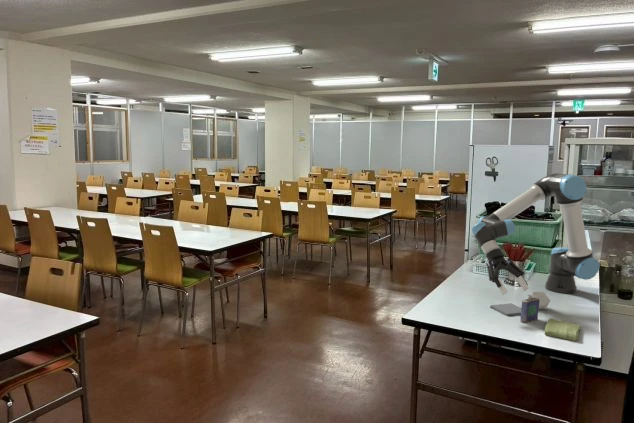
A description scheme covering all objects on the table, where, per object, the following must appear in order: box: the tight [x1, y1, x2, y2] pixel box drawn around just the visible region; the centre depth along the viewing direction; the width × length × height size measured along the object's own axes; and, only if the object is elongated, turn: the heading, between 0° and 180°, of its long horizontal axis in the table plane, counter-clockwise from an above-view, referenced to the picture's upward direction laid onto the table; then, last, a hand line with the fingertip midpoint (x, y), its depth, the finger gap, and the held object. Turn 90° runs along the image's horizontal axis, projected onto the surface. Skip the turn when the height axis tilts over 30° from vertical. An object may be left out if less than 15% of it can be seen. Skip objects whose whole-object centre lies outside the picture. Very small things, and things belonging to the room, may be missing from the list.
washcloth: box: [544, 318, 582, 342], centre depth 194 cm, size 13×18×3 cm
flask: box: [520, 294, 540, 324], centre depth 206 cm, size 10×3×12 cm, turn 117°
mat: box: [489, 302, 522, 317], centre depth 219 cm, size 12×12×1 cm
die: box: [530, 291, 551, 310], centre depth 222 cm, size 8×9×10 cm
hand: (516, 291), depth 211 cm, fingers open, 13 cm apart
